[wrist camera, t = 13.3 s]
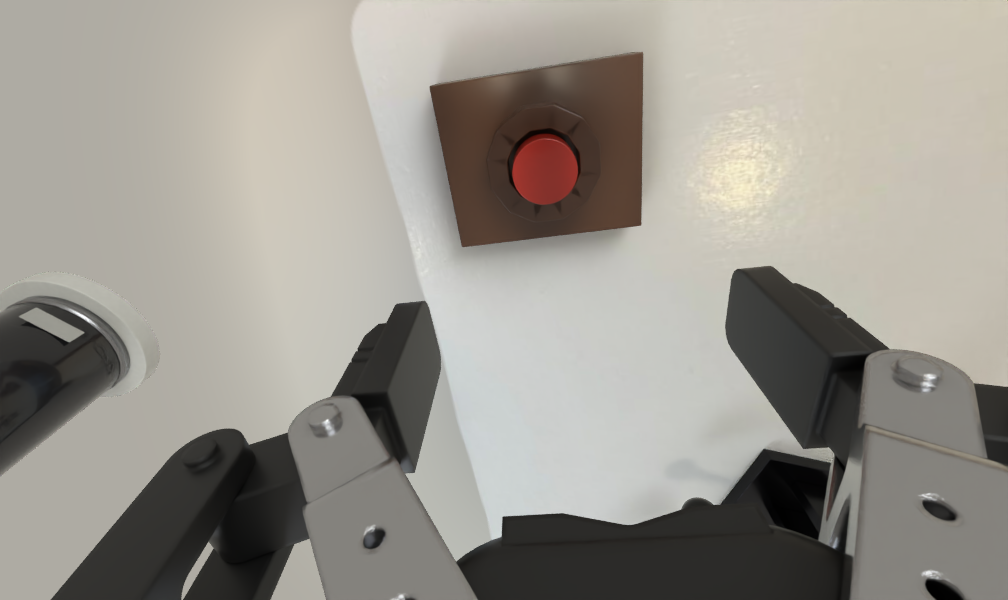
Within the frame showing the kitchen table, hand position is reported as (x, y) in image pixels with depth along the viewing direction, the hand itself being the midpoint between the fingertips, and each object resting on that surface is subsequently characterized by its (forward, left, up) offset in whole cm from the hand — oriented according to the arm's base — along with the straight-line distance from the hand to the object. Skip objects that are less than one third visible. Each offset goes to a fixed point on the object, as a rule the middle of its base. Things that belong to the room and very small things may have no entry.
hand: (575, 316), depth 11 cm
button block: (0, 0, -20) cm, 20 cm away
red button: (0, 0, -16) cm, 16 cm away
